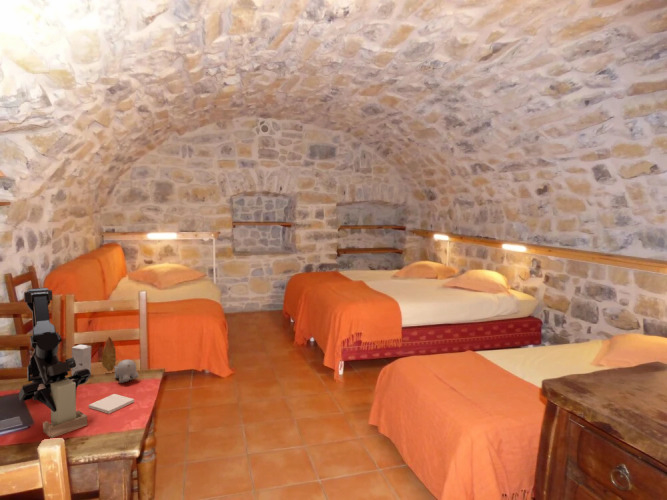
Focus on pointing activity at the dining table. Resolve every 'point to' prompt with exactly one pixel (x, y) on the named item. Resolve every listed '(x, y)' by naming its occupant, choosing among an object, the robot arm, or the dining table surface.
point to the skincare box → (81, 357)
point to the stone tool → (109, 355)
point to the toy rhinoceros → (126, 371)
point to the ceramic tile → (111, 403)
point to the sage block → (63, 401)
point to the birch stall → (65, 425)
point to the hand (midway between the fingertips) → (65, 407)
